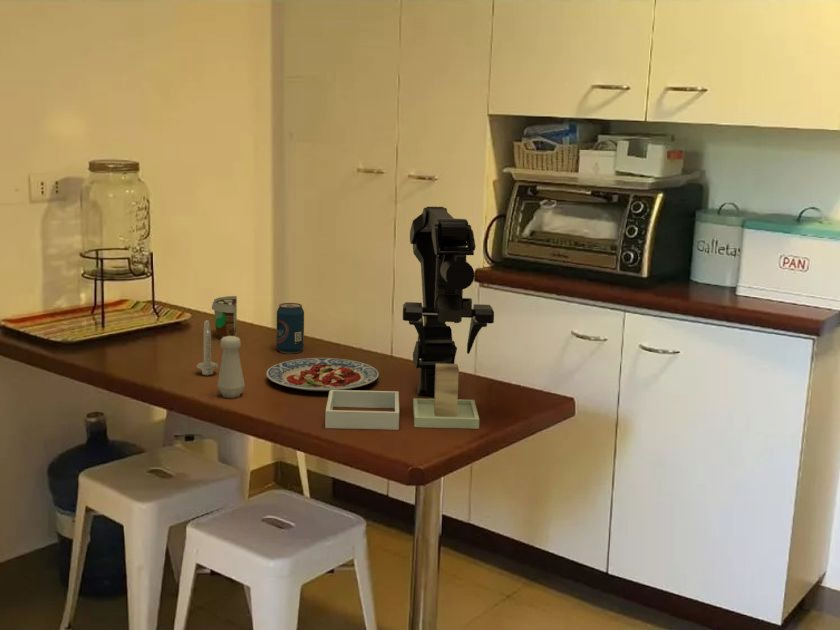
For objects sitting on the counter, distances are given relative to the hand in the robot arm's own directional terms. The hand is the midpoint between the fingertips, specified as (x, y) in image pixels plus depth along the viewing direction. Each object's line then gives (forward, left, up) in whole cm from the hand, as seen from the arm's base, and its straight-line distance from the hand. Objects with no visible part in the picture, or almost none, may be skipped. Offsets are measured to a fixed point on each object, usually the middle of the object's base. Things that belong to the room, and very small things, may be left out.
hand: (446, 352), depth 210 cm
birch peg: (+4, 0, -12) cm, 13 cm away
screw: (-24, -54, -13) cm, 60 cm away
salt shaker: (-8, -46, -13) cm, 48 cm away
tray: (+4, 0, -13) cm, 13 cm away
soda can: (-47, -37, -13) cm, 61 cm away
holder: (+5, -17, -13) cm, 22 cm away
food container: (-60, -56, -13) cm, 83 cm away
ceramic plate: (-21, -27, -13) cm, 37 cm away
